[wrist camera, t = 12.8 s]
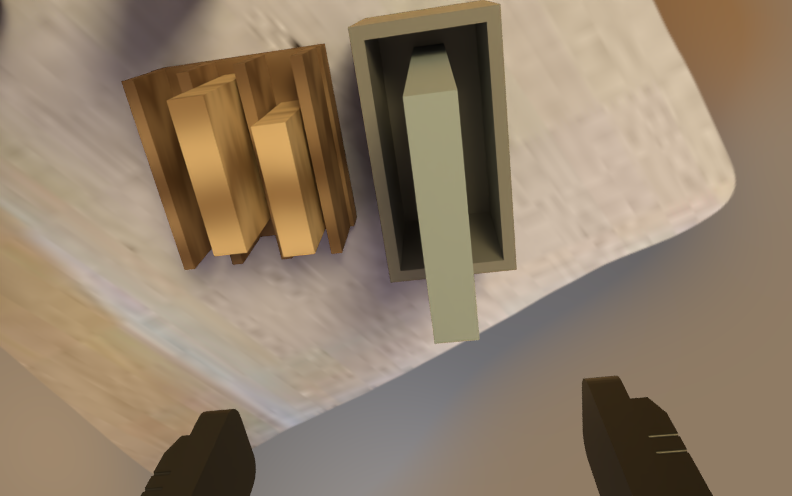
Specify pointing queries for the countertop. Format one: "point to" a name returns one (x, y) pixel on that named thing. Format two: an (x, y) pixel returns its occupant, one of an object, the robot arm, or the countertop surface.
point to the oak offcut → (221, 163)
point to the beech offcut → (290, 179)
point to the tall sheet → (441, 193)
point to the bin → (479, 118)
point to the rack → (260, 93)
